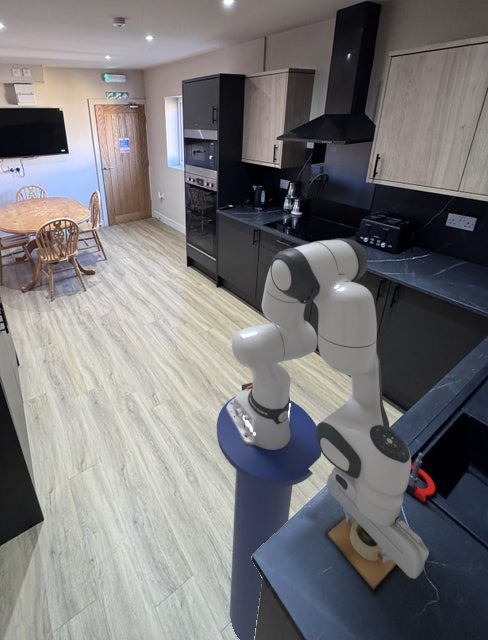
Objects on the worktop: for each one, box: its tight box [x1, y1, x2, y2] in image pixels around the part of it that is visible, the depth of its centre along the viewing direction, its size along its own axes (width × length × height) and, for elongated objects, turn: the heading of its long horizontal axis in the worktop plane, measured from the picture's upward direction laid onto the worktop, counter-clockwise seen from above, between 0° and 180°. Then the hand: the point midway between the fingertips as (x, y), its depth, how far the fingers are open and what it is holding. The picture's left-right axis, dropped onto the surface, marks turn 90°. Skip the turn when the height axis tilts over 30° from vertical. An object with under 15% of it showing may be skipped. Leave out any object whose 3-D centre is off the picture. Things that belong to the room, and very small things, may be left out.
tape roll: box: [350, 520, 382, 561], centre depth 73 cm, size 6×6×3 cm
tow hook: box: [405, 452, 436, 503], centre depth 85 cm, size 8×13×9 cm
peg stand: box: [327, 517, 397, 590], centre depth 72 cm, size 11×11×5 cm
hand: (365, 539), depth 73 cm, fingers closed on tape roll, 6 cm apart
